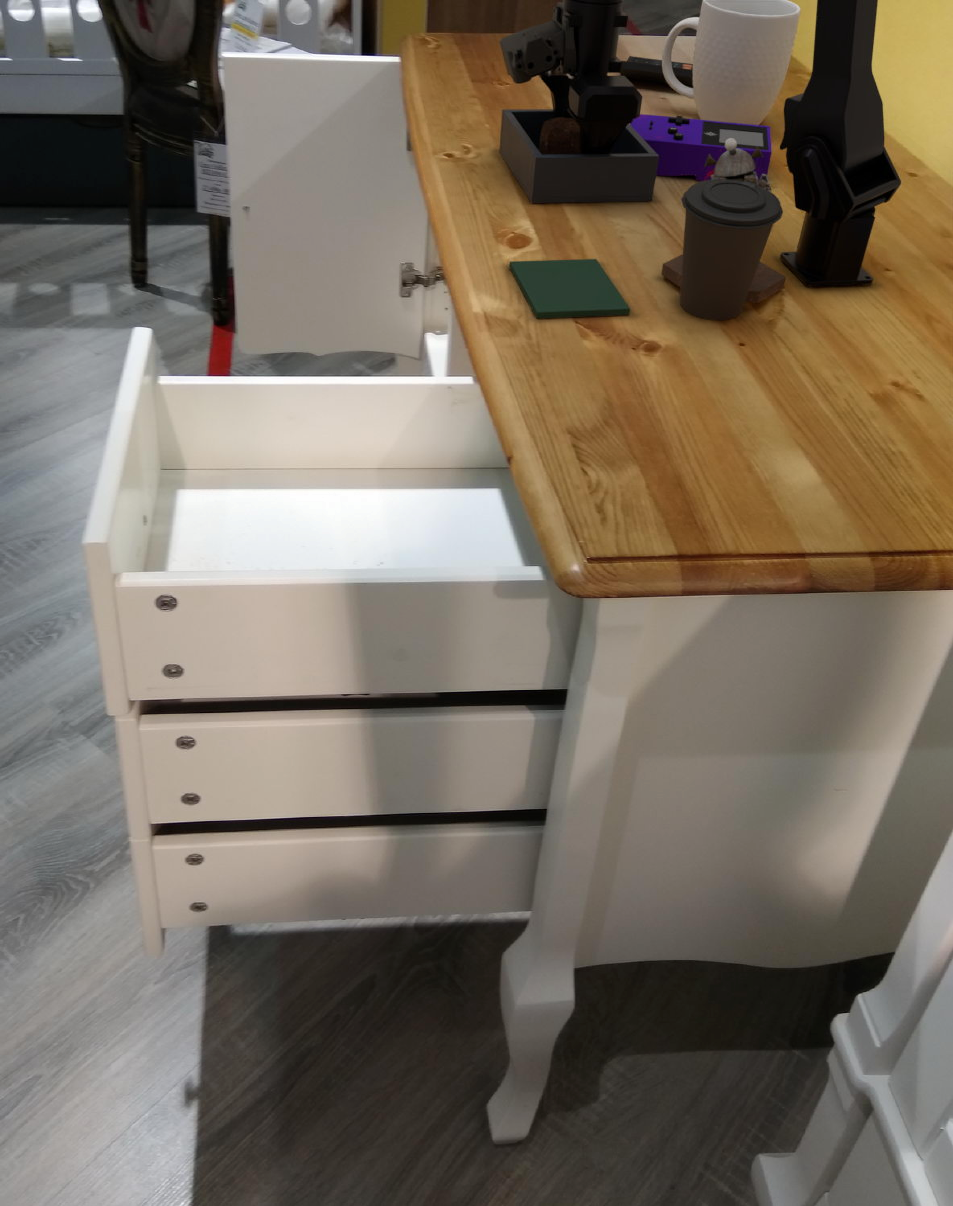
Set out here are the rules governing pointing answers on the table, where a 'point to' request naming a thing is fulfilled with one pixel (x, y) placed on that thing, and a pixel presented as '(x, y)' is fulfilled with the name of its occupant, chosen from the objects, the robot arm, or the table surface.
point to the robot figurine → (738, 168)
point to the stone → (560, 137)
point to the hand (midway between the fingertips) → (574, 162)
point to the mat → (568, 288)
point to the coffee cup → (723, 244)
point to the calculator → (655, 70)
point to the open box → (575, 164)
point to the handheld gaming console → (699, 143)
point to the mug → (736, 57)
